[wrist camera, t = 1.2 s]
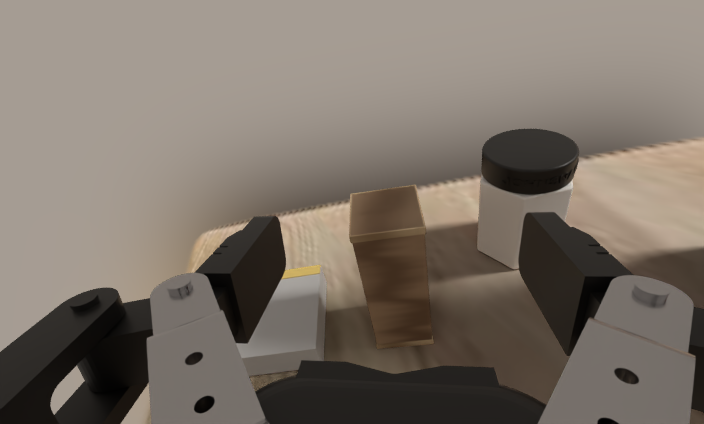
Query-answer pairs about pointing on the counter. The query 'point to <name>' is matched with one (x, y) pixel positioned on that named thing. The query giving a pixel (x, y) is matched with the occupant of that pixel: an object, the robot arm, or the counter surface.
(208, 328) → the robot arm
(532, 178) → the jar
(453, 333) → the counter surface
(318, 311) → the notepad
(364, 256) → the tall brown wooden box
